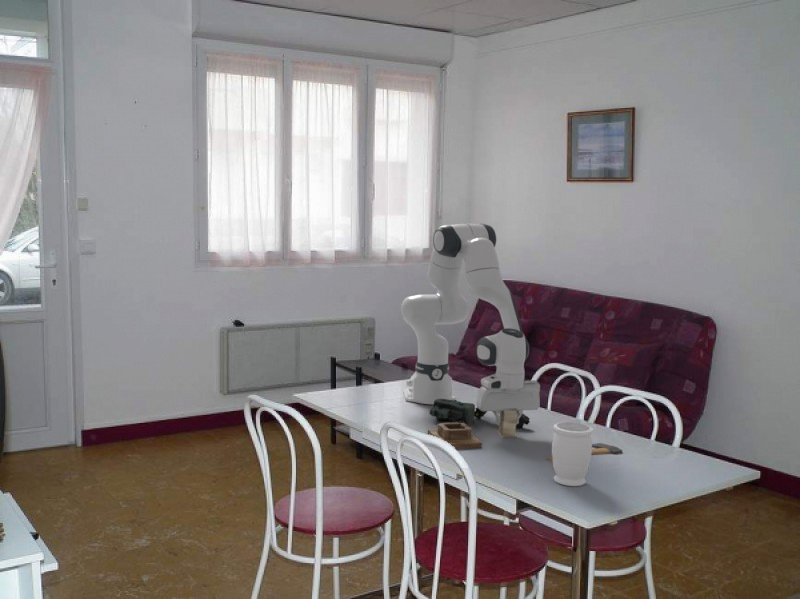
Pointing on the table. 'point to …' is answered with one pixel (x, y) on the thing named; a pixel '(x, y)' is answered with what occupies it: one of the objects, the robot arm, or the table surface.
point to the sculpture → (453, 411)
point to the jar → (571, 452)
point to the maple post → (508, 422)
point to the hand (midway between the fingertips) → (507, 423)
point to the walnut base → (461, 442)
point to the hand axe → (600, 450)
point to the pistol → (522, 419)
